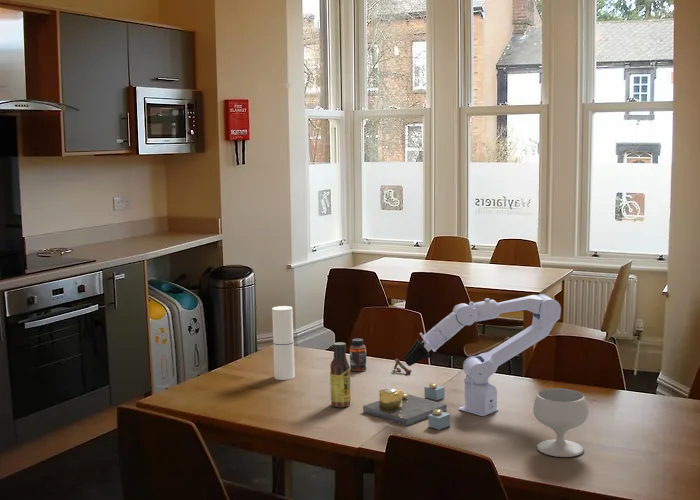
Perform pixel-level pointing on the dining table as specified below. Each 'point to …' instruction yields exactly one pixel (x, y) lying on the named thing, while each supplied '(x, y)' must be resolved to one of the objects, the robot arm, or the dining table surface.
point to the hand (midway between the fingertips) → (406, 362)
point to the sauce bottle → (340, 377)
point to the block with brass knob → (439, 419)
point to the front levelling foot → (434, 391)
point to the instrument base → (402, 407)
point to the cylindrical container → (283, 342)
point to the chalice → (560, 419)
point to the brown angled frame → (401, 367)
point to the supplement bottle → (357, 355)
